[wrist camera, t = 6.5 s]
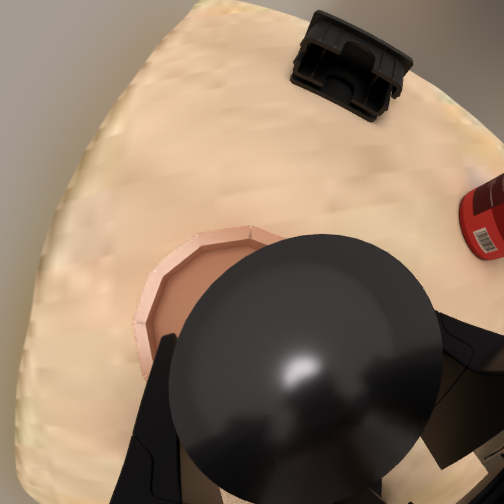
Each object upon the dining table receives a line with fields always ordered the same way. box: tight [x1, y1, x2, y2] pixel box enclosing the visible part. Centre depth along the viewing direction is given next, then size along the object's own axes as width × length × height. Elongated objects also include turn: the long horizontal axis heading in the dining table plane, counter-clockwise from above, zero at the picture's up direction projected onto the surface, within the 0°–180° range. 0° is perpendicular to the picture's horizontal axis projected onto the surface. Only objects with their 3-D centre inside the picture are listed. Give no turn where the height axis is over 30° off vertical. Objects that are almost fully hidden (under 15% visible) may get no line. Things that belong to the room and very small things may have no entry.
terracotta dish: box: [132, 226, 285, 381], centre depth 18 cm, size 13×13×2 cm
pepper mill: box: [169, 234, 443, 504], centre depth 10 cm, size 5×5×11 cm
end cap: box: [290, 10, 413, 122], centre depth 22 cm, size 10×7×7 cm
